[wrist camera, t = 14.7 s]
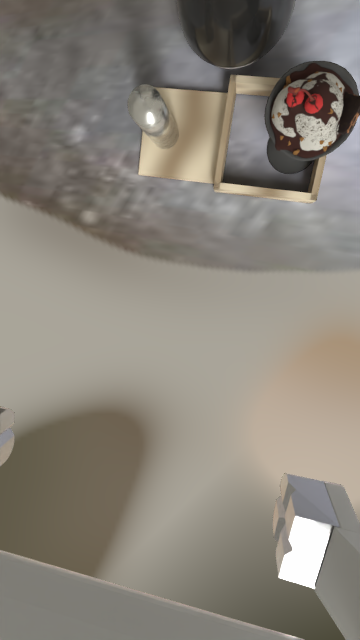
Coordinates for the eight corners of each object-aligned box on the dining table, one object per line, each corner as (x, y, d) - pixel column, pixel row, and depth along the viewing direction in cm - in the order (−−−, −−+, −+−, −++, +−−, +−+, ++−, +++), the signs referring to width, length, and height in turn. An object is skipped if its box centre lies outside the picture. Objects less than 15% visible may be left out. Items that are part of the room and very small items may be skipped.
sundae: (245, 147, 35) (247, 81, 21) (298, 97, 34) (341, -13, 19) (284, 196, 36) (313, 165, 21) (339, 149, 34) (412, 80, 20)
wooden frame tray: (139, 182, 38) (111, 166, 30) (149, 80, 35) (122, 32, 27) (311, 203, 35) (331, 191, 27) (335, 94, 33) (365, 45, 25)
